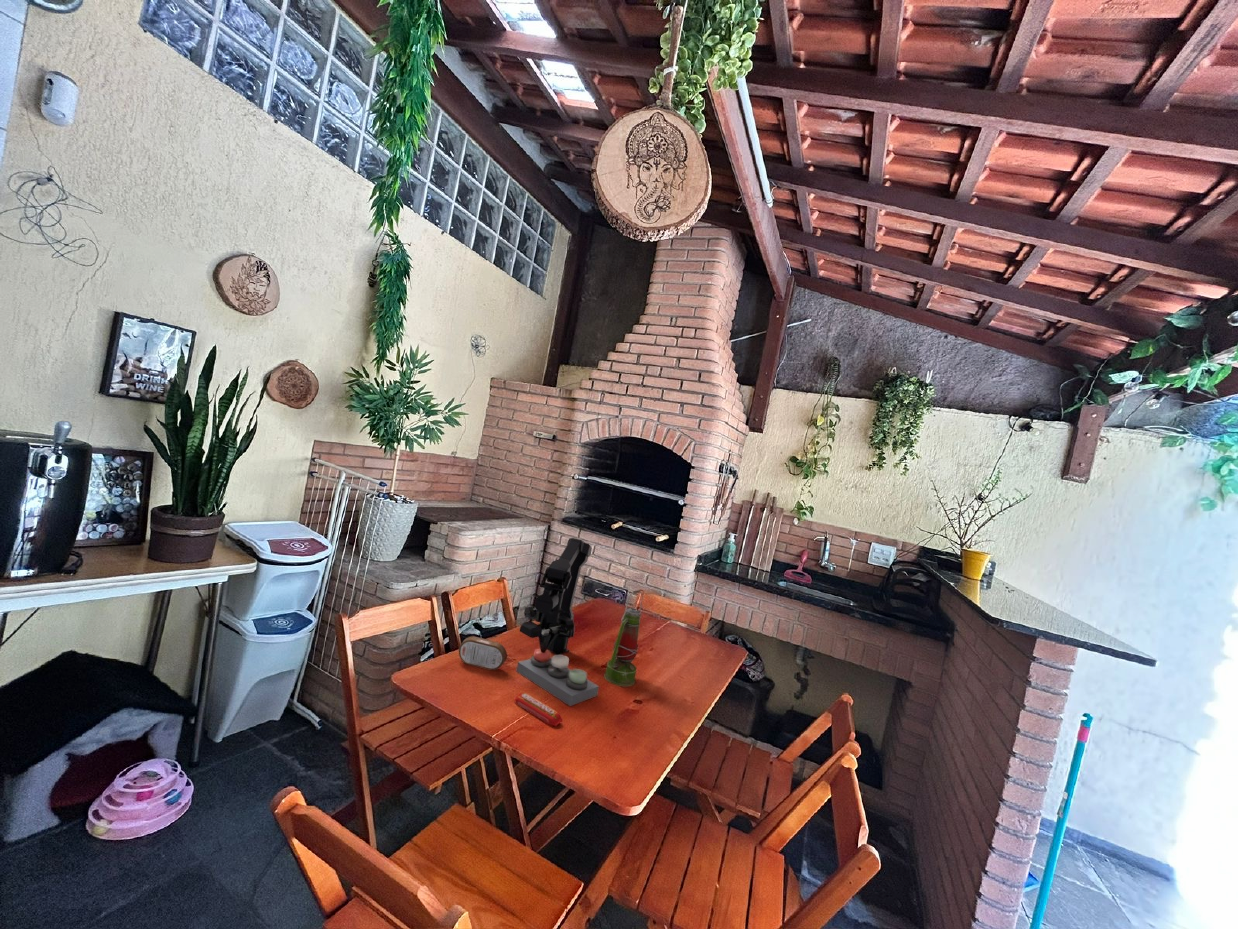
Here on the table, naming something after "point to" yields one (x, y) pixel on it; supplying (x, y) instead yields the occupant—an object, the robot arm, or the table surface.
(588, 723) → the table surface
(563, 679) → the button panel
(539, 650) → the red button
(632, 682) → the lantern
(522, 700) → the candy bar
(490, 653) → the tin
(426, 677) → the table surface
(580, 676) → the green button
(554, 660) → the white button
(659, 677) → the table surface
